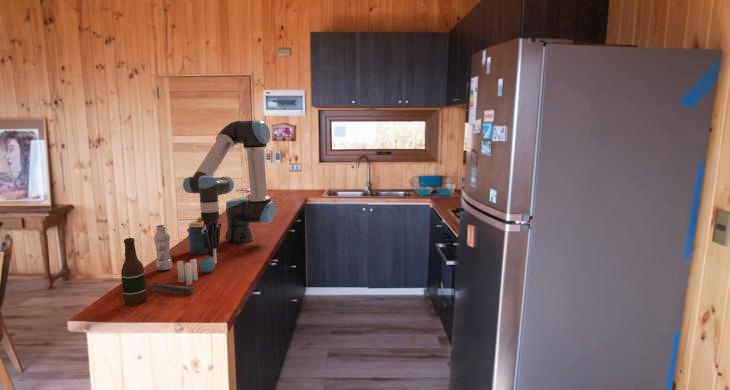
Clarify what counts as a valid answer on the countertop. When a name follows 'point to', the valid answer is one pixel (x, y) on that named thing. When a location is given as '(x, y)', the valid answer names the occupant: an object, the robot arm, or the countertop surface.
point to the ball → (207, 265)
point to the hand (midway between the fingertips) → (213, 263)
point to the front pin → (194, 269)
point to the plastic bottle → (162, 248)
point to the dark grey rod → (172, 289)
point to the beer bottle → (133, 276)
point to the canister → (196, 238)
